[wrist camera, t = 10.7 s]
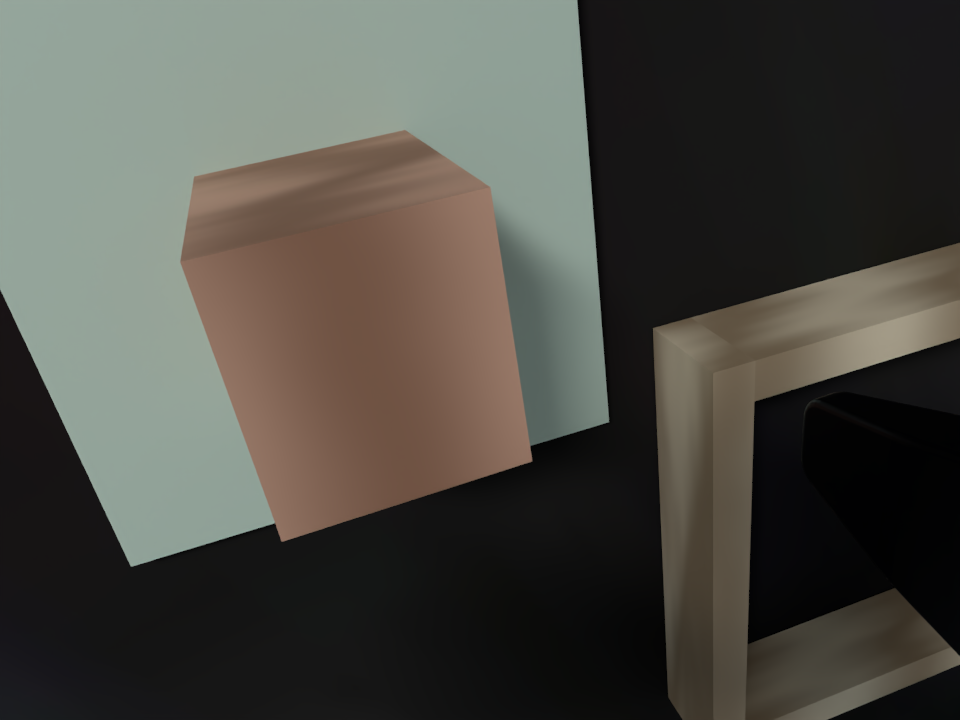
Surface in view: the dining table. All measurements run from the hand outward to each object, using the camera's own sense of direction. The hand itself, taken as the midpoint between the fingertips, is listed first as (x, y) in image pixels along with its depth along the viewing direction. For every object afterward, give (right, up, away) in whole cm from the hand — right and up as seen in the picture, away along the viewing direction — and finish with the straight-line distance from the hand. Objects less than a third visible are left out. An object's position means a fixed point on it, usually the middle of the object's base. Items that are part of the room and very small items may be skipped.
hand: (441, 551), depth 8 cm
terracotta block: (-3, +4, +9) cm, 11 cm away
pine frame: (+15, -2, +19) cm, 24 cm away
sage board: (-3, +4, +10) cm, 11 cm away
